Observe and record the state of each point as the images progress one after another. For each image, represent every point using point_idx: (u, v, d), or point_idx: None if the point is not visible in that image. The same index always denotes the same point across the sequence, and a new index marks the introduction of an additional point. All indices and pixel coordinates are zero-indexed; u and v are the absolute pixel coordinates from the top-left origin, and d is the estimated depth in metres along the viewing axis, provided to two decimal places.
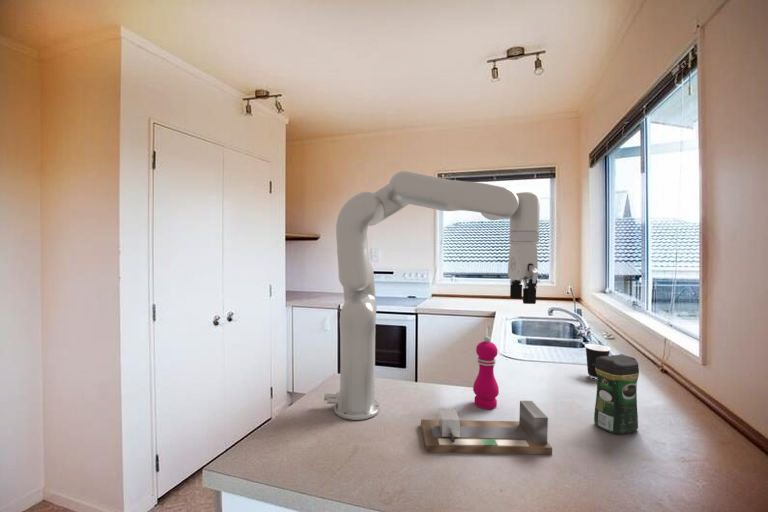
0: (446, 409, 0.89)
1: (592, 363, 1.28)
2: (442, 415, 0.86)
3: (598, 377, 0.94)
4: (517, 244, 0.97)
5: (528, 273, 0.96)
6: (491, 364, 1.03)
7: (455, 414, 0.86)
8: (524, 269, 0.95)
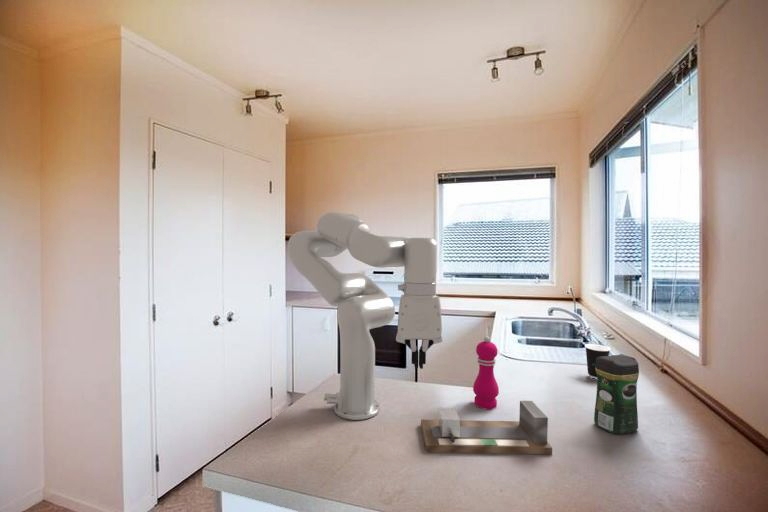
0: (446, 409, 0.89)
1: (592, 363, 1.28)
2: (442, 415, 0.86)
3: (598, 377, 0.94)
4: (430, 298, 0.83)
5: None
6: (491, 364, 1.03)
7: (455, 414, 0.86)
8: None
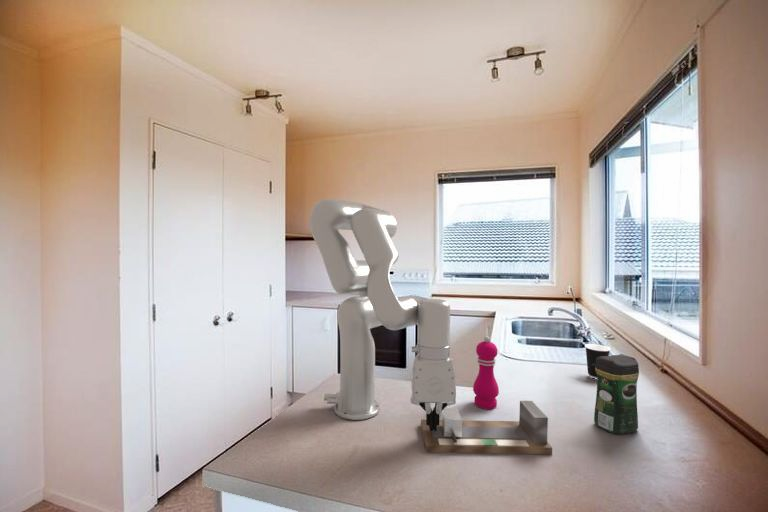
0: (448, 409, 0.89)
1: (592, 363, 1.28)
2: (444, 415, 0.86)
3: (598, 377, 0.94)
4: (444, 362, 0.84)
5: None
6: (491, 364, 1.03)
7: (457, 414, 0.86)
8: (455, 388, 0.85)
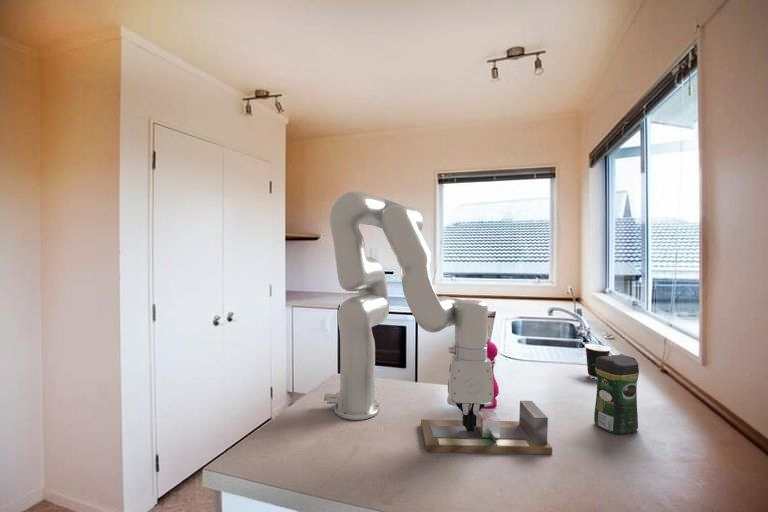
0: (484, 410, 0.89)
1: (592, 363, 1.28)
2: (481, 416, 0.86)
3: (598, 377, 0.94)
4: (482, 363, 0.84)
5: None
6: (491, 364, 1.03)
7: (494, 415, 0.86)
8: None
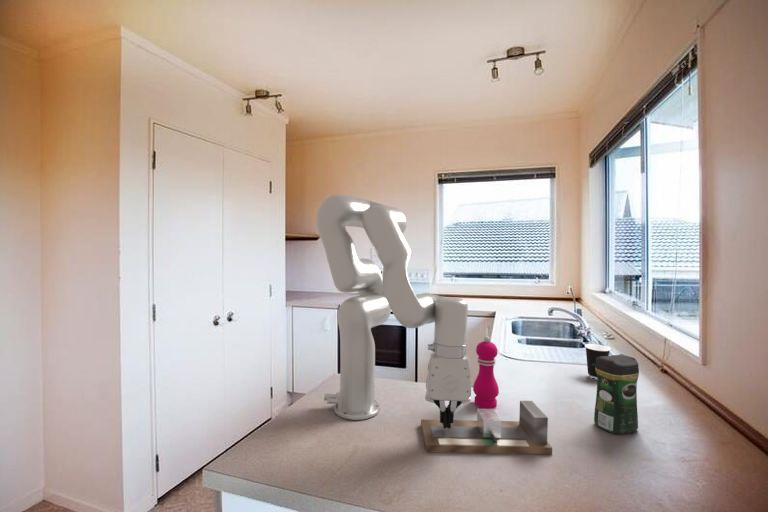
0: (485, 410, 0.89)
1: (592, 363, 1.28)
2: (482, 416, 0.86)
3: (598, 377, 0.94)
4: (460, 360, 0.84)
5: None
6: (491, 364, 1.03)
7: (495, 415, 0.86)
8: (470, 387, 0.85)
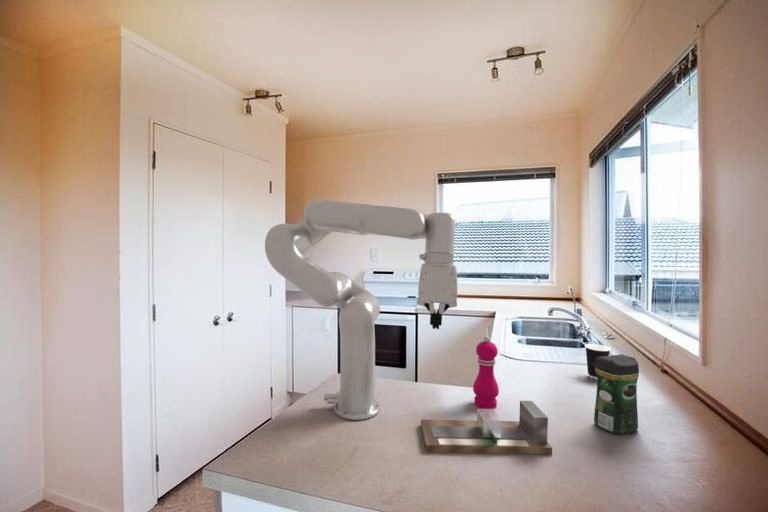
0: (485, 410, 0.89)
1: (592, 363, 1.28)
2: (482, 416, 0.86)
3: (598, 377, 0.94)
4: (448, 266, 0.94)
5: None
6: (491, 364, 1.03)
7: (495, 415, 0.86)
8: None
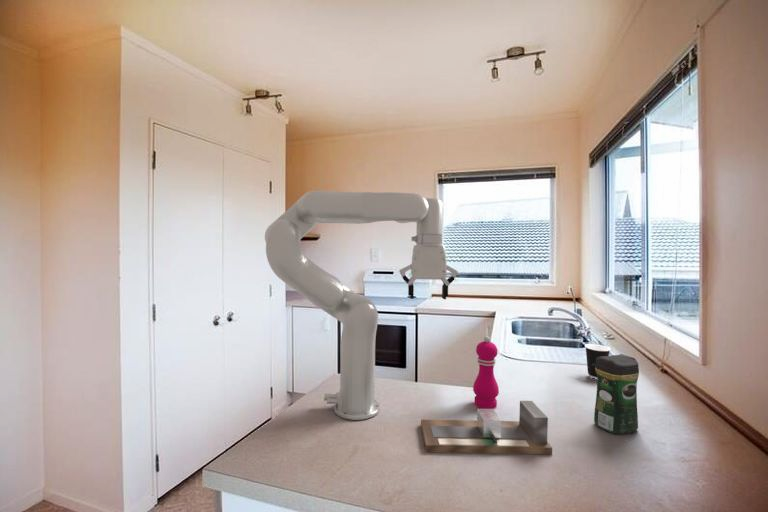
0: (485, 410, 0.89)
1: (592, 363, 1.28)
2: (482, 416, 0.86)
3: (598, 377, 0.94)
4: (437, 246, 1.05)
5: None
6: (491, 364, 1.03)
7: (495, 415, 0.86)
8: (446, 269, 1.06)
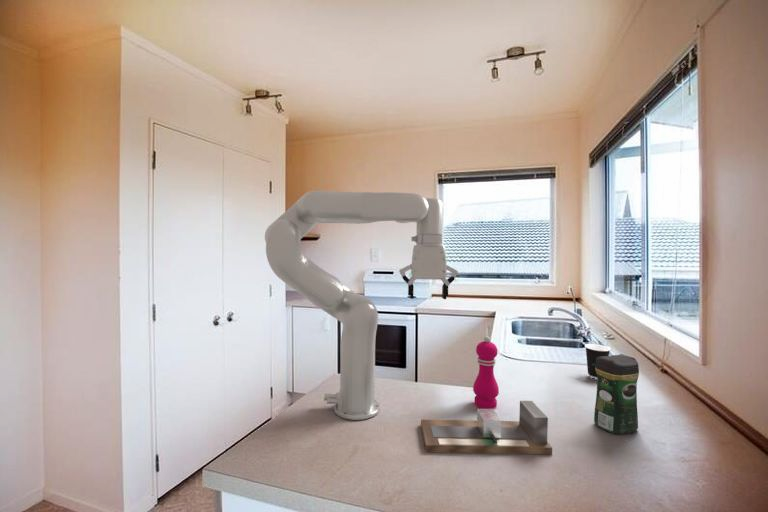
0: (485, 410, 0.89)
1: (592, 363, 1.28)
2: (482, 416, 0.86)
3: (598, 377, 0.94)
4: (437, 246, 1.05)
5: None
6: (491, 364, 1.03)
7: (495, 415, 0.86)
8: (446, 269, 1.06)
